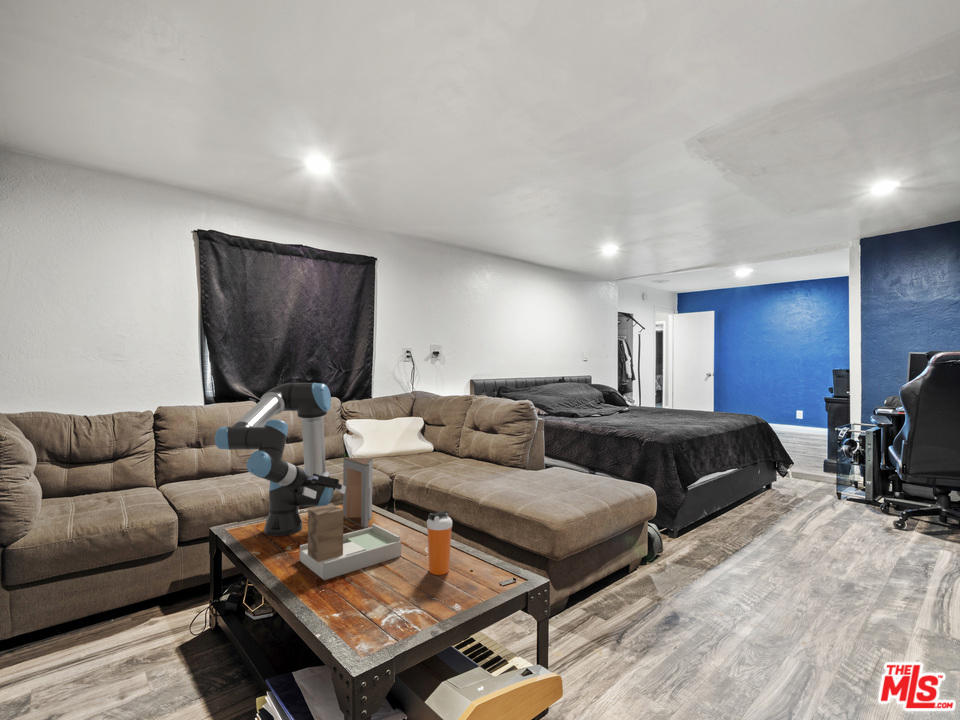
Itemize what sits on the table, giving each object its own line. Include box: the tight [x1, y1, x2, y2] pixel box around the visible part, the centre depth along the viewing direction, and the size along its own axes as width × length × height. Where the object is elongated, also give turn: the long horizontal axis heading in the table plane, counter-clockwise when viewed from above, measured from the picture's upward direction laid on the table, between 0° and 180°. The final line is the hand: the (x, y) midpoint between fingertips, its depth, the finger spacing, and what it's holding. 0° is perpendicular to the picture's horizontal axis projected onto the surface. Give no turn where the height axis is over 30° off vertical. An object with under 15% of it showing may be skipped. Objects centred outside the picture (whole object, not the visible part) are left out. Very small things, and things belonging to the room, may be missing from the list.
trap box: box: [299, 523, 402, 581], centre depth 173 cm, size 21×30×7 cm
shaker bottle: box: [426, 510, 453, 576], centre depth 164 cm, size 9×9×20 cm
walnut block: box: [307, 504, 344, 562], centre depth 167 cm, size 9×9×16 cm
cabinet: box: [342, 456, 374, 529], centre depth 215 cm, size 21×10×28 cm, turn 43°
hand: (329, 492), depth 176 cm, fingers open, 13 cm apart
